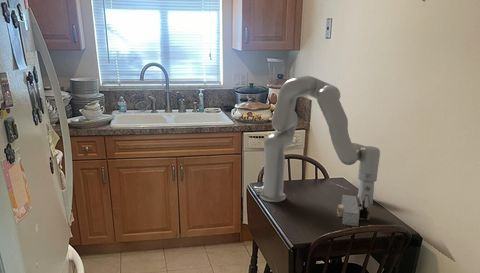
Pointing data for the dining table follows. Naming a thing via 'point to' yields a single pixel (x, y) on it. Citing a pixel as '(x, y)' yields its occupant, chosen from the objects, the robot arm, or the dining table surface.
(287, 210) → the dining table surface
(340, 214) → the bar
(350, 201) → the housing
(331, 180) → the dining table surface
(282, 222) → the dining table surface
